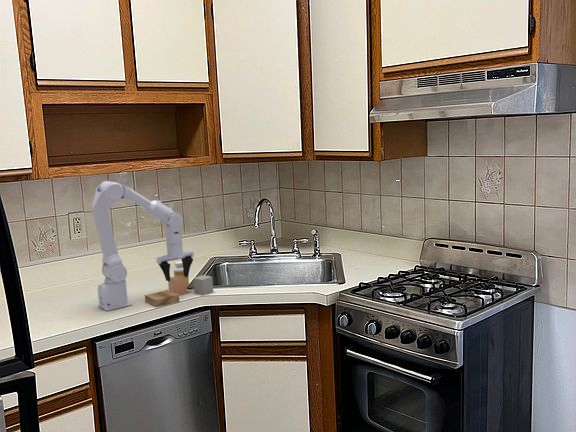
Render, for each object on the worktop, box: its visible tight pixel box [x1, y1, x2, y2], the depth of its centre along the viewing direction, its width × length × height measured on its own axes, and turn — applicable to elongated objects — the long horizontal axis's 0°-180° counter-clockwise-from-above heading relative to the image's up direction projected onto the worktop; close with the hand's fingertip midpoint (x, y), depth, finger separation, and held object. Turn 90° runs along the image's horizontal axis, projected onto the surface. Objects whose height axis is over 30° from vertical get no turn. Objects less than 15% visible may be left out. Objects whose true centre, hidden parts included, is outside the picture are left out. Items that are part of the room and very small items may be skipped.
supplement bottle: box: [173, 260, 190, 287], centre depth 228 cm, size 5×5×10 cm
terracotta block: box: [167, 275, 188, 296], centre depth 218 cm, size 5×5×6 cm
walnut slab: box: [144, 289, 180, 308], centre depth 208 cm, size 9×9×3 cm
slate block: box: [192, 274, 214, 296], centre depth 217 cm, size 5×5×6 cm
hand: (177, 278), depth 218 cm, fingers open, 7 cm apart
